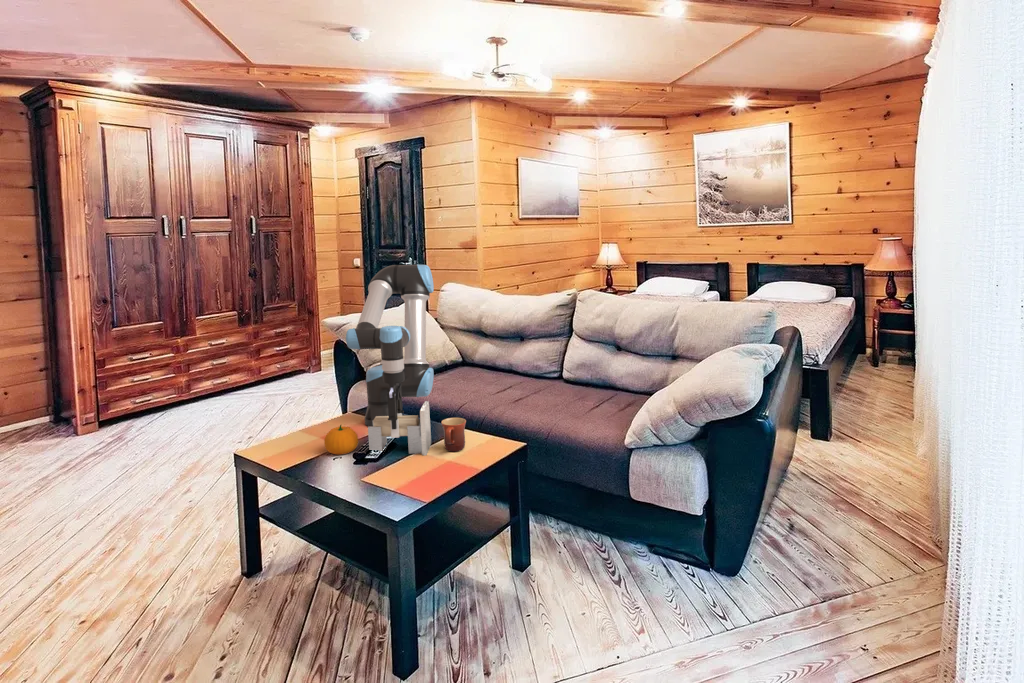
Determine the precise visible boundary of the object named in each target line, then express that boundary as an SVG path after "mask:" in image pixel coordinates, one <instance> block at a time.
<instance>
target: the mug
mask: <svg viewBox="0 0 1024 683" xmlns="http://www.w3.org/2000/svg"><path fill="white" fill-rule="evenodd" d="M466 423H467V420H466V419H465V418H463V417H448V418H444V419H442V420H441V426H442V428H443V429H442V430H443V445H444V449H445V450H446V451H448V452H450V453H455V452H456V453H458V452H460V451H463V450H464V449H465V447H466V436H465V429H466V428H465V427H466Z"/></svg>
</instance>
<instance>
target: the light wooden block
mask: <svg viewBox="0 0 1024 683" xmlns="http://www.w3.org/2000/svg"><path fill="white" fill-rule="evenodd" d="M397 418H398V421H399V437H408V430H407V426H413V425H419V422H418V419H419V415H418V414H417V415H413V414H412V415H402V416H397ZM388 419H389V416H376V417H375V419H374V420H373V423H374V426H381V432H382V436H387V437H391V424H390V420H388Z"/></svg>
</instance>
